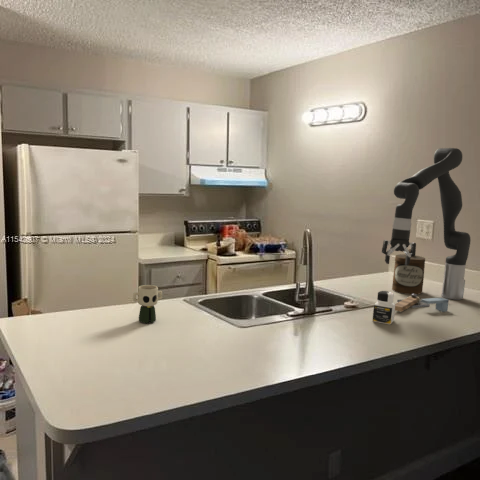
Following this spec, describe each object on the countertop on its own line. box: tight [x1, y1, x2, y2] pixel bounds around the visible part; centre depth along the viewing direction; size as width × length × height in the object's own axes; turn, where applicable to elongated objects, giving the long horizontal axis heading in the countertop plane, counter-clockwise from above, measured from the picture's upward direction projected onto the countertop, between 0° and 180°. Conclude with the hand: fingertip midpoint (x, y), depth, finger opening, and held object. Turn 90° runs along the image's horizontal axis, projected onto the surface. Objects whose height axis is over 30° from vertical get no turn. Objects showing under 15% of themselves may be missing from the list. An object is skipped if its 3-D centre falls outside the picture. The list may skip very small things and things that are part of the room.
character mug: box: [132, 284, 163, 324], centre depth 171 cm, size 11×7×13 cm, turn 119°
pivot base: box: [396, 293, 431, 309], centre depth 217 cm, size 10×10×5 cm
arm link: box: [395, 295, 421, 313], centre depth 209 cm, size 24×5×2 cm, turn 142°
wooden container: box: [391, 248, 426, 295], centre depth 242 cm, size 15×15×22 cm
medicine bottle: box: [372, 290, 396, 325], centre depth 188 cm, size 7×7×12 cm
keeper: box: [420, 297, 450, 313], centre depth 208 cm, size 12×4×5 cm, turn 112°
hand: (396, 264), depth 208 cm, fingers open, 8 cm apart
